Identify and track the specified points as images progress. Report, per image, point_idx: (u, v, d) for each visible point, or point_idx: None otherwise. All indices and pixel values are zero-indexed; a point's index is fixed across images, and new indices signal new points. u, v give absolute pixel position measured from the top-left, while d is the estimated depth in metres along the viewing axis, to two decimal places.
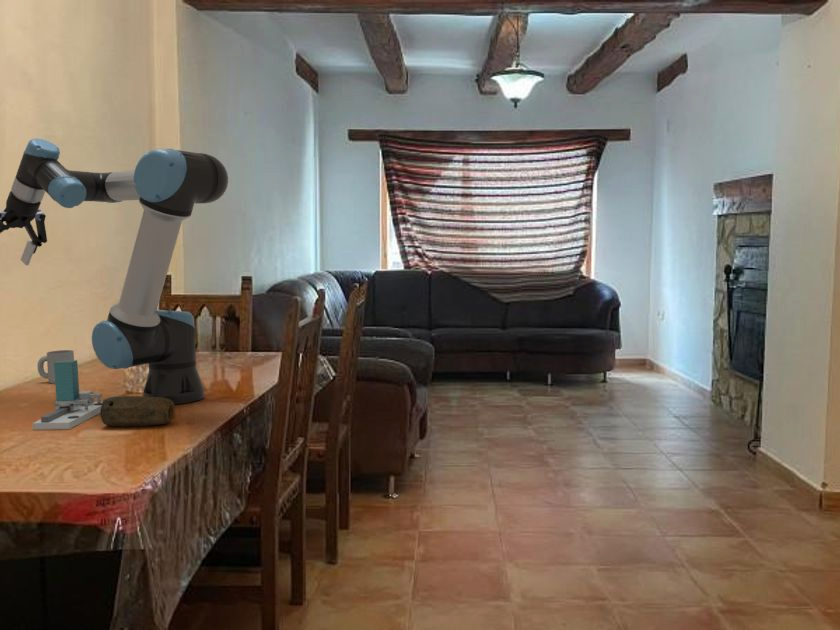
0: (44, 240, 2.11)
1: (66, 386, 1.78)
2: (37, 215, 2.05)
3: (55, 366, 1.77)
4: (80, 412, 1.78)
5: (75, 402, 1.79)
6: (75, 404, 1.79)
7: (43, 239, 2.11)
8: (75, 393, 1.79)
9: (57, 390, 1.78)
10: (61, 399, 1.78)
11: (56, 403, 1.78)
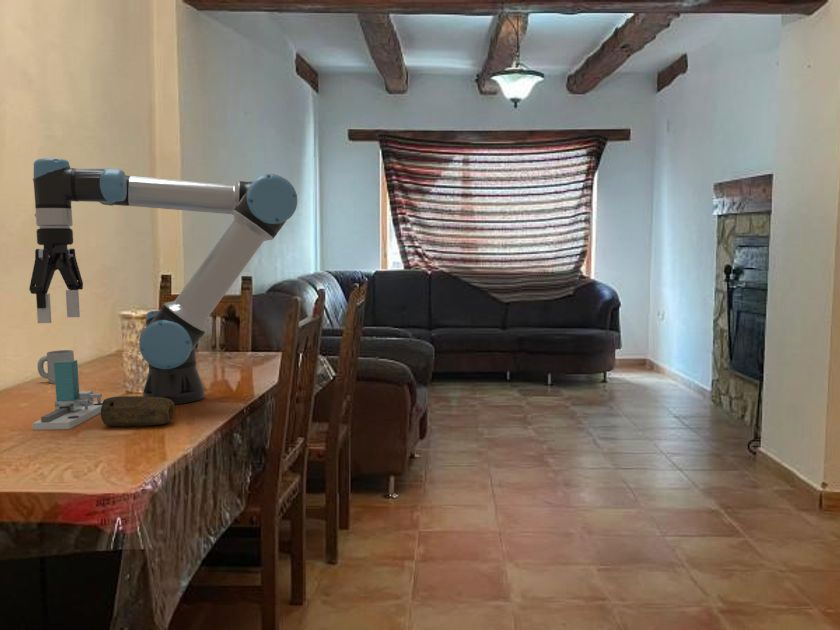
0: (81, 282, 1.87)
1: (66, 386, 1.78)
2: (68, 251, 1.82)
3: (55, 366, 1.77)
4: (80, 412, 1.78)
5: (75, 402, 1.79)
6: (75, 404, 1.79)
7: (80, 281, 1.86)
8: (75, 393, 1.79)
9: (57, 390, 1.78)
10: (61, 399, 1.78)
11: (56, 403, 1.78)
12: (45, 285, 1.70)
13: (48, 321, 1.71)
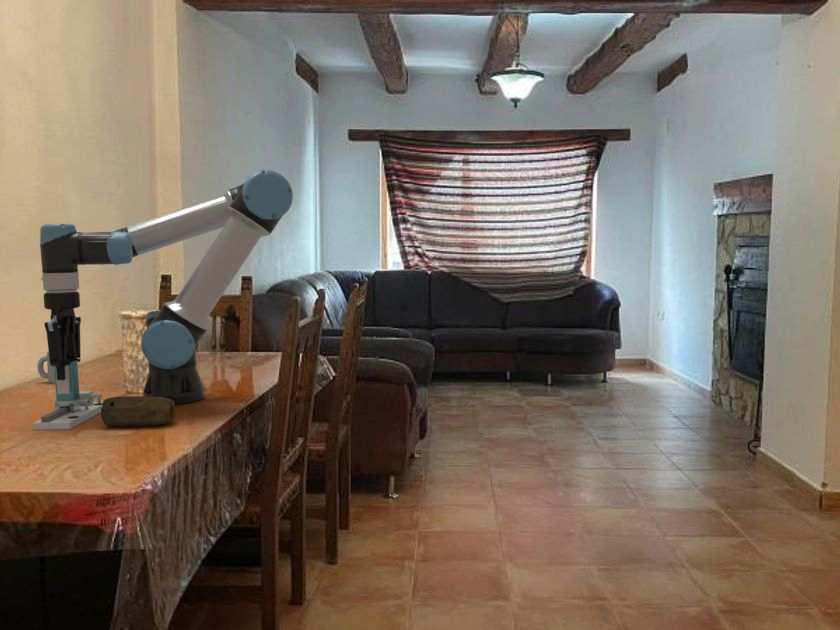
0: (79, 353, 1.83)
1: None
2: None
3: (55, 366, 1.77)
4: (80, 412, 1.78)
5: (75, 402, 1.79)
6: (75, 404, 1.79)
7: (78, 352, 1.83)
8: (75, 393, 1.79)
9: None
10: (61, 399, 1.78)
11: (56, 403, 1.78)
12: (63, 358, 1.76)
13: (67, 392, 1.77)
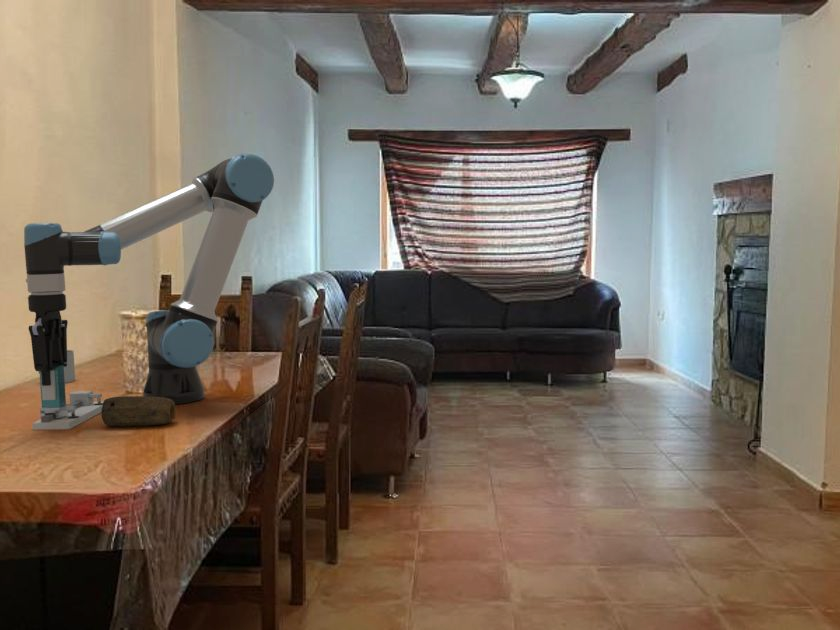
0: (65, 358, 1.76)
1: None
2: (60, 320, 1.76)
3: (40, 371, 1.70)
4: (80, 412, 1.78)
5: (61, 408, 1.72)
6: (61, 411, 1.72)
7: (65, 356, 1.76)
8: (61, 399, 1.72)
9: None
10: (46, 405, 1.71)
11: (41, 410, 1.71)
12: (48, 363, 1.69)
13: (53, 398, 1.70)
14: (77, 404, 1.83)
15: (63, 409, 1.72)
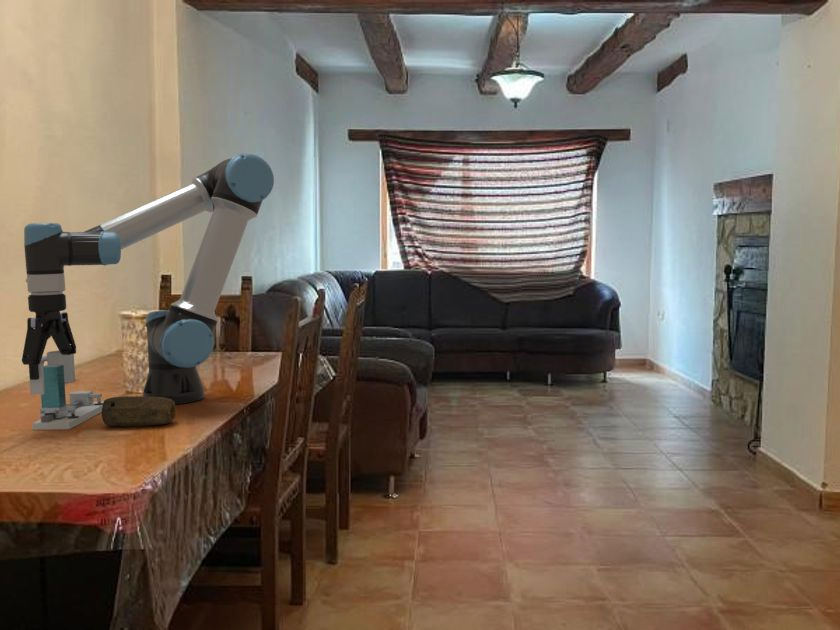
0: (74, 346, 1.81)
1: (51, 392, 1.71)
2: (60, 316, 1.76)
3: None
4: (80, 412, 1.78)
5: (61, 409, 1.72)
6: (61, 411, 1.72)
7: (73, 345, 1.80)
8: (61, 399, 1.72)
9: (42, 396, 1.71)
10: (46, 405, 1.71)
11: (41, 410, 1.71)
12: (38, 355, 1.64)
13: (41, 392, 1.65)
14: (77, 404, 1.83)
15: (63, 409, 1.72)
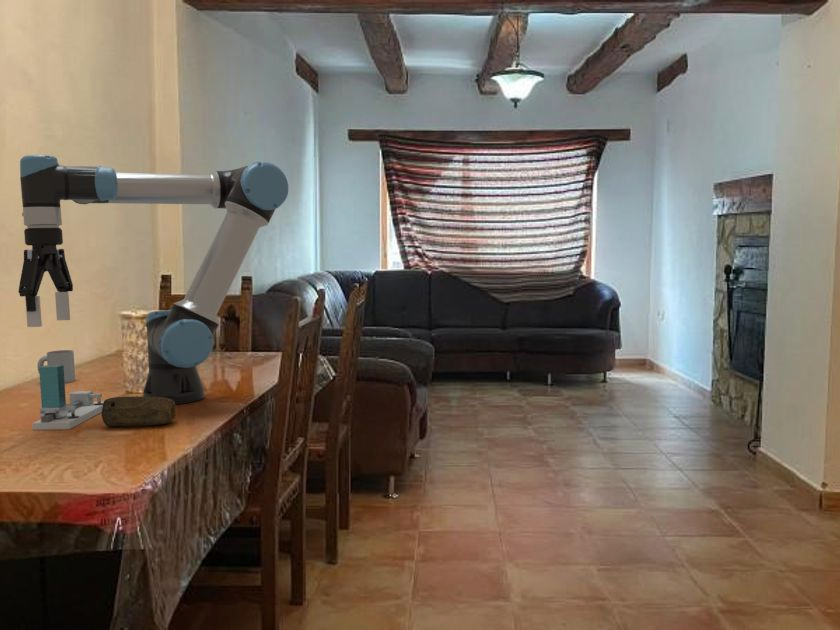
0: (71, 284, 1.80)
1: (51, 392, 1.71)
2: (57, 252, 1.75)
3: (40, 371, 1.70)
4: (80, 412, 1.78)
5: (61, 409, 1.72)
6: (61, 411, 1.72)
7: (70, 283, 1.79)
8: (61, 399, 1.72)
9: (42, 396, 1.71)
10: (46, 405, 1.71)
11: (41, 410, 1.71)
12: (35, 287, 1.63)
13: (38, 325, 1.64)
14: (77, 404, 1.83)
15: (63, 409, 1.72)
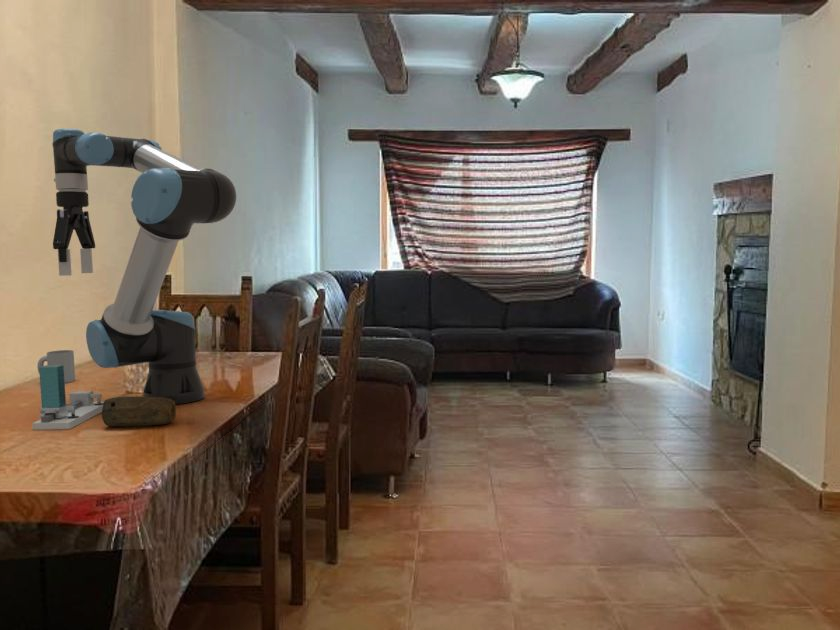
0: (93, 242, 2.08)
1: (51, 392, 1.71)
2: (82, 213, 2.03)
3: (40, 371, 1.70)
4: (80, 412, 1.78)
5: (61, 409, 1.72)
6: (61, 411, 1.72)
7: (93, 241, 2.07)
8: (61, 399, 1.72)
9: (42, 396, 1.71)
10: (46, 405, 1.71)
11: (41, 410, 1.71)
12: (66, 241, 1.91)
13: (69, 274, 1.92)
14: (77, 404, 1.83)
15: (63, 409, 1.72)
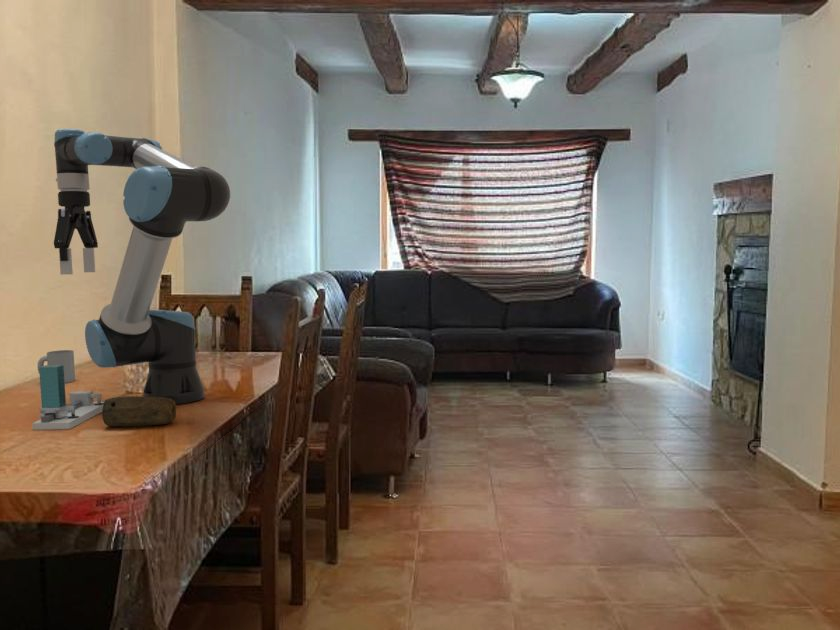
0: (96, 241, 2.09)
1: (51, 392, 1.71)
2: (85, 213, 2.04)
3: (40, 371, 1.70)
4: (80, 412, 1.78)
5: (61, 409, 1.72)
6: (61, 411, 1.72)
7: (95, 240, 2.09)
8: (61, 399, 1.72)
9: (42, 396, 1.71)
10: (46, 405, 1.71)
11: (41, 410, 1.71)
12: (67, 240, 1.93)
13: (70, 272, 1.94)
14: (77, 404, 1.83)
15: (63, 409, 1.72)
